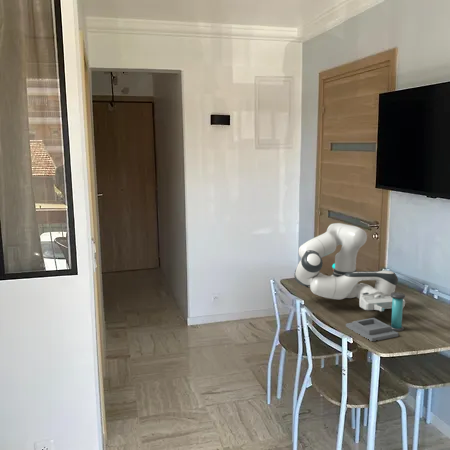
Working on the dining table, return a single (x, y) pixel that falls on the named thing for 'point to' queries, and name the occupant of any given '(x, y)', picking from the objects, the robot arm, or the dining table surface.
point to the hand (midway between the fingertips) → (392, 308)
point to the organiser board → (372, 329)
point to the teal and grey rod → (397, 311)
